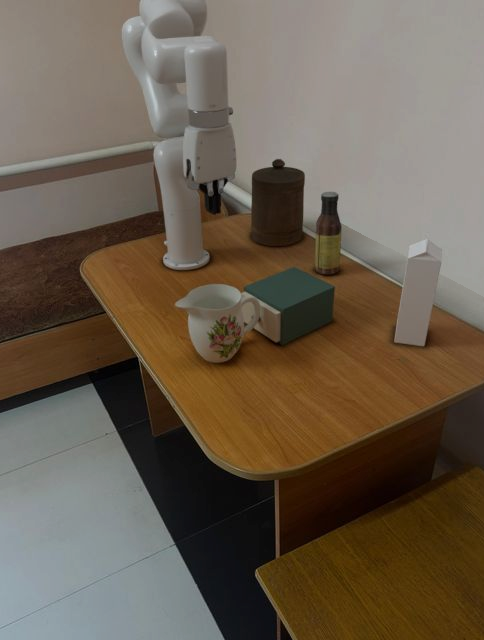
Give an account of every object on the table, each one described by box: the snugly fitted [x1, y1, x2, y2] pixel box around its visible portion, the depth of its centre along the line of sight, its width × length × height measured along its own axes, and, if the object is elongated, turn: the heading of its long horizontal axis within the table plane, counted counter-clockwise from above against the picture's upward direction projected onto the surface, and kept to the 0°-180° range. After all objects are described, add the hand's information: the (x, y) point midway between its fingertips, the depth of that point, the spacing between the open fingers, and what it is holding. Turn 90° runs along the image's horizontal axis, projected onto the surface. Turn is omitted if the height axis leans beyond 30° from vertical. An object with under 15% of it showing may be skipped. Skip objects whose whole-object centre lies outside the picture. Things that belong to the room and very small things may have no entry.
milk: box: [393, 231, 443, 347], centre depth 105 cm, size 6×6×22 cm
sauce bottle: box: [314, 191, 342, 276], centre depth 132 cm, size 6×6×20 cm
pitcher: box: [174, 283, 260, 364], centre depth 106 cm, size 11×18×14 cm, turn 119°
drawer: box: [240, 291, 281, 343], centre depth 115 cm, size 15×11×7 cm
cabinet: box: [243, 266, 336, 346], centre depth 116 cm, size 15×13×9 cm
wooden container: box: [250, 158, 306, 247], centre depth 151 cm, size 15×15×22 cm
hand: (213, 212), depth 111 cm, fingers closed
